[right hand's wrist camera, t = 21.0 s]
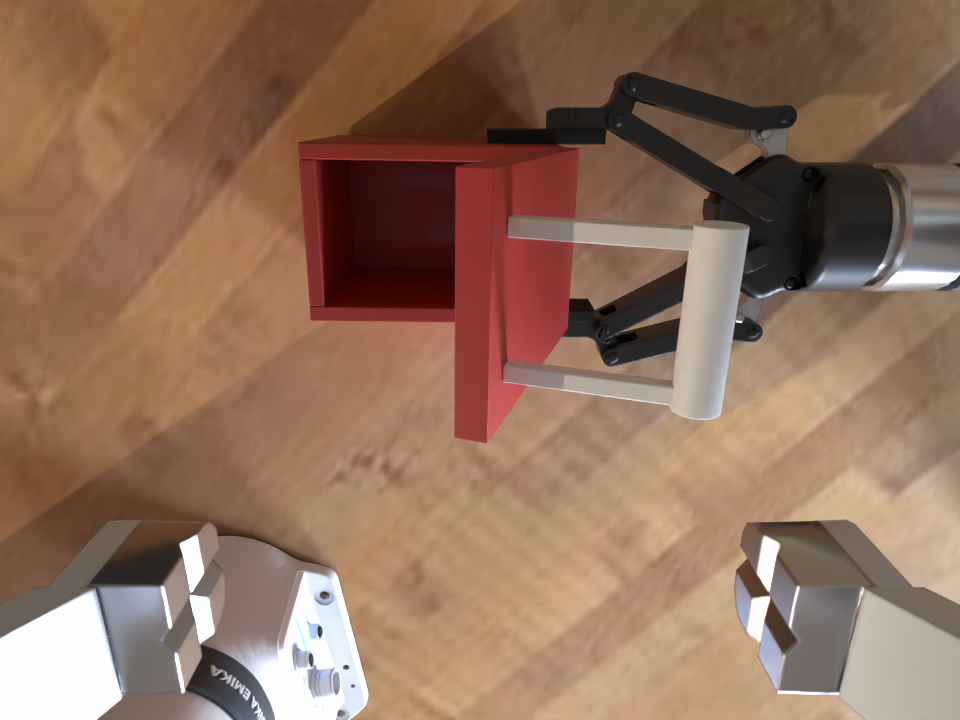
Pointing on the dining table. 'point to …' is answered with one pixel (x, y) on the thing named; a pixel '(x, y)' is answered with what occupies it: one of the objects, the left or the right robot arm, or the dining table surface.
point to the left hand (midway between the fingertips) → (487, 227)
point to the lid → (546, 291)
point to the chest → (385, 223)
